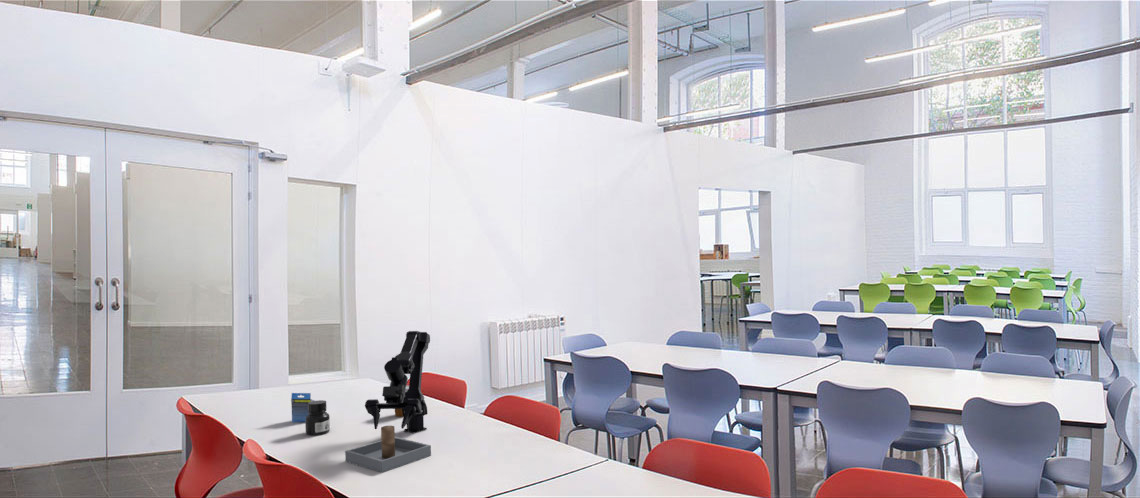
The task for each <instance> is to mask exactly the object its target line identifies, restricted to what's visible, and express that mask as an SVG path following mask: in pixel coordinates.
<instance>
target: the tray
mask: <svg viewBox="0 0 1140 498" xmlns="http://www.w3.org/2000/svg"><path fill="white" fill-rule="evenodd" d="M344 453H345V454H344V455H345V457H344V458H345V461H344V462H346V461H347V463H349V462H350V464H352V463H353V465H356V464H357V465H356V466H359V465H360V467H363V468H366V469H369V470H370V469H371V470H373V471H376V472H380V473H386V472H389V471H390V470H394V469H397V468H399V467H402V466H405V465H409V464H410V463H414V462H417V461H419V460H422V459H426V458H428V457H431V456H432V445H431V444H428V443H427V444H426V443H423V442H419V441H413V440H410V439H406V438H402V437H397V436H395V456H394V457H391V458H388V459H383V458H382V444H381V440H378V441H375V442H370V443H367V444H365V445H361V446H357V447H355V448H351V449H348V450H345V451H344Z"/></svg>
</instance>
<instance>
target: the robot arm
mask: <svg viewBox="0 0 1140 498" xmlns="http://www.w3.org/2000/svg"><path fill="white" fill-rule="evenodd" d="M430 342H431V335H430V334H429V333H428V332H427V331H419V330H409V331H406V334H405V341H404V343H403V344H402V345H403V346H402V348H401V351H400V353H398V354H396V355H395V356H394V357H393V356H392V357H391V359H390V360H388V361H387V362H385V364H384V367H383V368H384V371H385V374H386V376H387V378H388V380H389V381H390V384H389V386H388V385H387V386H383V388H382V393H381V395H382V397H384V398H383V401H384V402H380V401H379V400H378V399H377V398H376V399H375V398H374V399H367V400H365V403H364V407H365V409H366V412H367V414H369V415H371V417H373V425H374V429H375V430H376V429H378V427H379V426H378V425H379V421H380V418H381V414H380V413H381V410H395V409H402V412H403V416H404V417H402V421H401V426H400V427H401V429H403V431H405V432H407V433H408V432H409V433H412V434H416V433H418V432H422V431H425V430H428V428H427V427H425V426H424V424H425V423H424V416H427V415H428V406H427V403H426V401H425V396H424V393H423V392H422V391H421V390H422V388H421V387H422V379H423V377H422V376H423V363H424V355H425V353H426V352H427V350H428V348H429V344H430ZM407 375H409V379H408V376H407ZM408 380H409V384H408ZM406 385H409V389H408V391H407V392H405V390H406ZM405 427H406V428H405Z"/></svg>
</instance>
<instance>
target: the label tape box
mask: <svg viewBox="0 0 1140 498" xmlns="http://www.w3.org/2000/svg"><path fill="white" fill-rule="evenodd" d="M311 394H312V393H311V392H291V396H290V397H291V398H290V401H291V422H292V423H305V418H306V416H307V415H308V414H309V413H308V403H309V402H312V401H316V400H315V399H311V396H312V395H311ZM301 396H302V397H301Z"/></svg>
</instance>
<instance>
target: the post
mask: <svg viewBox="0 0 1140 498" xmlns="http://www.w3.org/2000/svg"><path fill="white" fill-rule="evenodd" d="M380 434H381V438H380V439H381V440H380V441H381V444H382V458H383V459H388V458H391V457H394V456H395V437H396V436H395V435H396V432H395V425H384V426H381V427H380Z"/></svg>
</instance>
